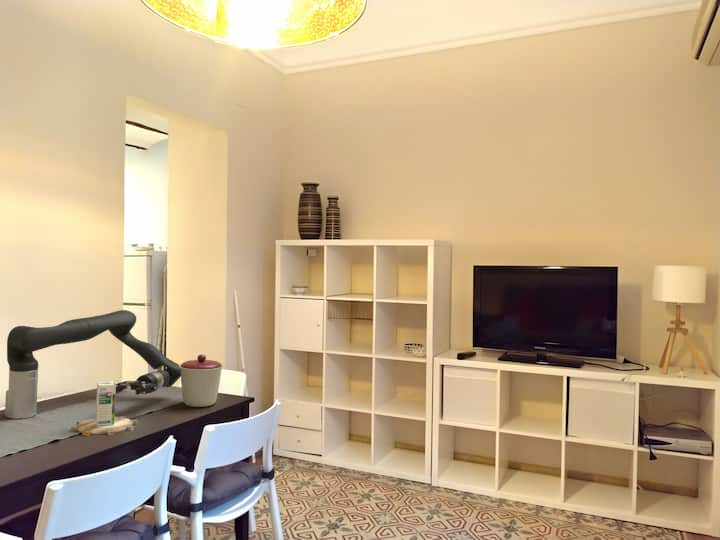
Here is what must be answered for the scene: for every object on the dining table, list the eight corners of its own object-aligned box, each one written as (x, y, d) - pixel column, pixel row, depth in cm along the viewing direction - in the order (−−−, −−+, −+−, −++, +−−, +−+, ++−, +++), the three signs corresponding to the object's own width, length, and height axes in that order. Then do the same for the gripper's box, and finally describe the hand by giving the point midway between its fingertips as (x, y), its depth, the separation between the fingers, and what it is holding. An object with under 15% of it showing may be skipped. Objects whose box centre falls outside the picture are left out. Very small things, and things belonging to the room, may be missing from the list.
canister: (174, 400, 237) (176, 351, 237) (217, 398, 245) (219, 350, 245) (180, 411, 221) (182, 358, 221) (225, 408, 229) (227, 357, 229)
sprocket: (56, 432, 188) (56, 428, 188) (97, 416, 209) (98, 412, 209) (113, 438, 184) (113, 435, 184) (149, 421, 205) (150, 418, 205)
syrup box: (96, 426, 193) (98, 385, 192) (95, 422, 198) (97, 381, 198) (114, 424, 195) (116, 384, 195) (112, 420, 200) (114, 380, 200)
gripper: (134, 371, 225) (109, 379, 209) (166, 374, 223) (143, 382, 207) (133, 390, 225) (108, 399, 209) (165, 393, 223) (142, 402, 207)
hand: (126, 390), depth 208 cm, fingers open, 8 cm apart
